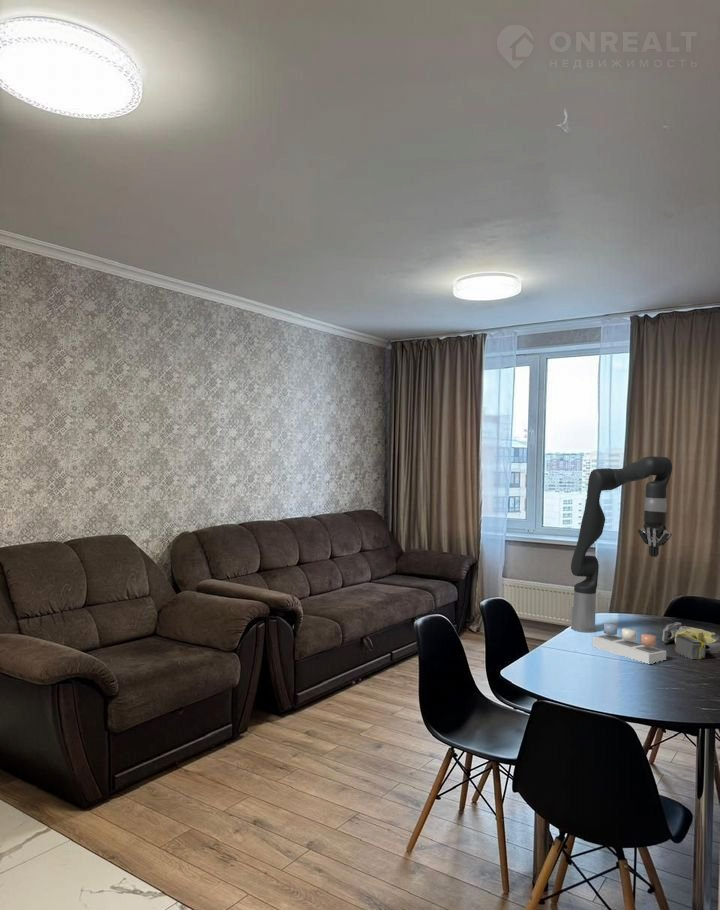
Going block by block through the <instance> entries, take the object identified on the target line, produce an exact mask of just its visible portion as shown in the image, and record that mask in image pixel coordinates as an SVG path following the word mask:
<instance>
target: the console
mask: <svg viewBox="0 0 720 910" xmlns="http://www.w3.org/2000/svg"><path fill="white" fill-rule="evenodd" d="M592 639H593V640H592V647H593V648H597V649H599V650H602V651H605V652H608V653H611V654H615V655H618V656H621V657H622V656H625V657H624V658H626V657H628V658H627V659H629V658H631V659H630V660H633V659H635V660H634V661H636V660H638V661H637V662H640V661H642V662H641V663H643V662H645V663H648V664H650V663H655V662H656V663H660V662H659V661H661V662H664V661H663V660H666V661H667V650H664V649H661V648H657V647H656V646H655V647H648V646H644V645H641V642H638V641H636V640H635V641H628V640H624V639H622V636H618V635H608V634H601V635H596V636H593V638H592Z"/></svg>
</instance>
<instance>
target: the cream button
mask: <svg viewBox="0 0 720 910" xmlns="http://www.w3.org/2000/svg"><path fill="white" fill-rule="evenodd" d="M621 637H622V639H624V640H628V641H635V642H636V641H637V630H636V629H634V628H629V627H623V628H621Z"/></svg>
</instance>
